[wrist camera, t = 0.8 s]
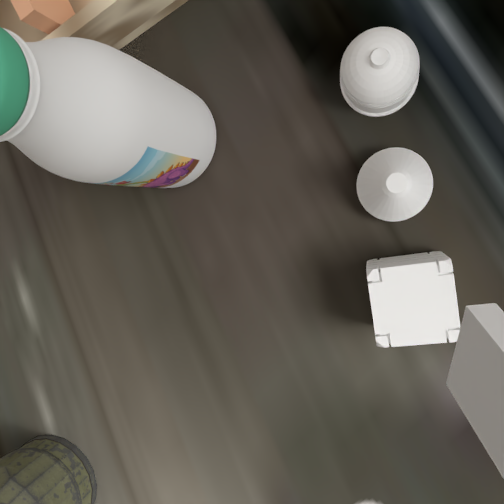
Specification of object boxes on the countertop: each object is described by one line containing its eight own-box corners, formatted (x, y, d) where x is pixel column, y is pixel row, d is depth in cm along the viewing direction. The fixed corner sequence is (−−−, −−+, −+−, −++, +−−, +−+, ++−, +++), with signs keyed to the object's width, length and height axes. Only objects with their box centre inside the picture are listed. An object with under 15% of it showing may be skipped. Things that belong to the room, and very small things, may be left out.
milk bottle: (136, 80, 37) (-124, -50, 18) (228, 96, 35) (52, -27, 16) (120, 177, 38) (-139, 155, 19) (208, 198, 36) (22, 197, 17)
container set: (450, 318, 33) (465, 341, 28) (374, 325, 34) (374, 348, 29) (412, 30, 32) (420, -3, 26) (335, 49, 33) (328, 21, 28)
